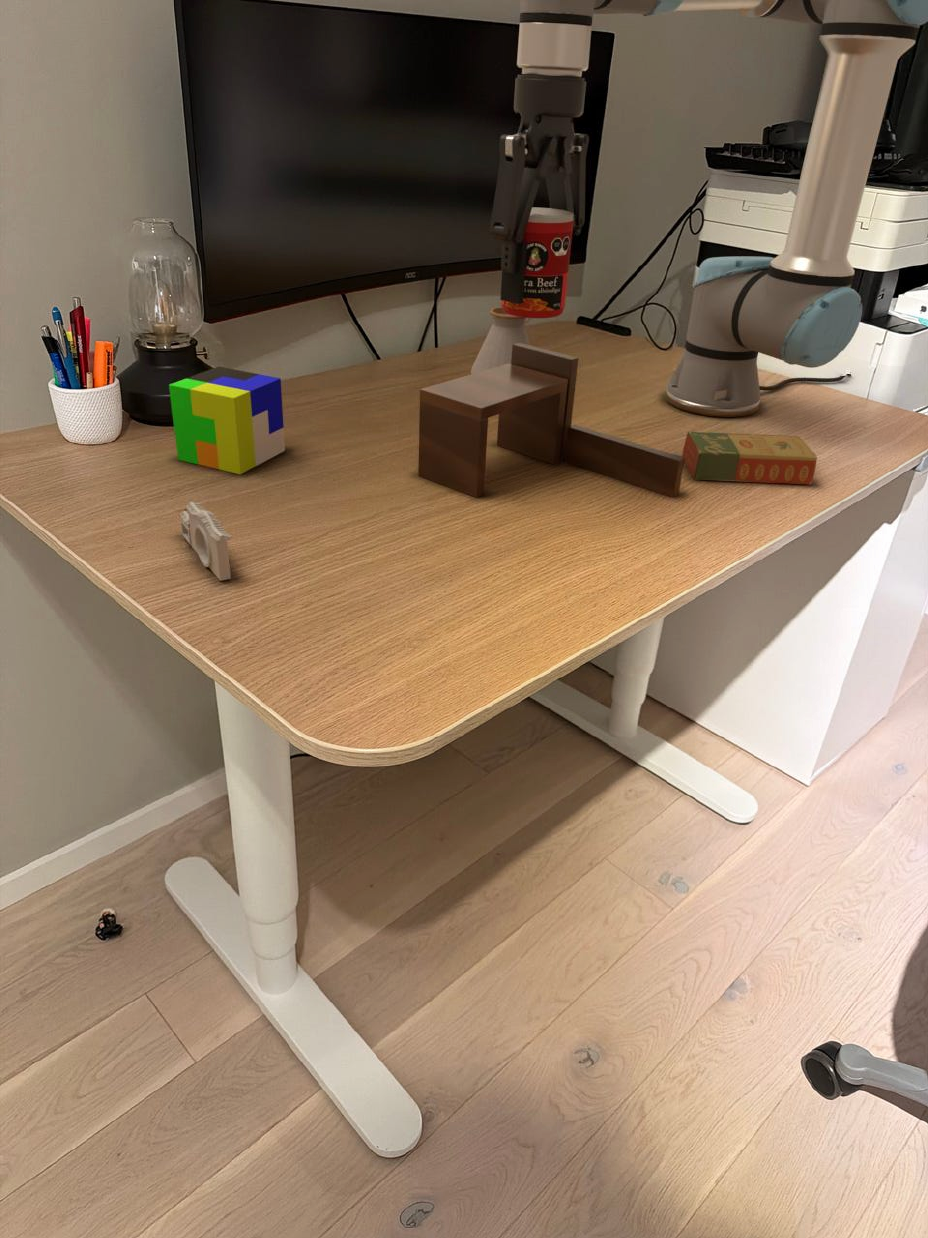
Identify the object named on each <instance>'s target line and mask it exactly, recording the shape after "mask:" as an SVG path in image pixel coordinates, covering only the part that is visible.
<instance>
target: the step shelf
mask: <svg viewBox="0 0 928 1238" xmlns="http://www.w3.org/2000/svg"><path fill="white" fill-rule="evenodd" d="M578 366H579V357H576V356H573V355H570V354H565V353H562V352H557V351H553V350H549V349H546V348H541V347H538V346H534V345H531V344H530V345H526V344H522V343H516V344H513V345H512V358H511V364H509V363H508V364H505V365H502V366H498V367H495V368H491V369H488V370H484V371H481V372H478V373H474V374H471V373H470V374H468V375H464V376H461V377H457V378H453V379H451V380H447V381H444V382H440V383H437V384H433V385H430V386H426V387H422V388H420V389H419V416H418V417H419V418H418V419H419V420H418V421H419V422H418V423H419V425H418V467H417V469H418V470H417V476H419V477H422V478H424V479H427V480H429V481H432V482H435V483H437V484H439V485H443V486H445V487H448V488H450V489H453V490H456V491H458V492H461V493H464V494H466V495H469V496H472V497H474V498H478V497H479V498H480V497H481V496H483V495H484V494H485V482H486V481H485V480H486V479H485V478H486V463H487V449H488V448H487V447H488V432H489V418H491V417H494V416H498V419H497V421H498V422H497V433H496V434H497V435H496V436H497V437H496V446H498V447H501V448H503V449H506V450H510V451H513V452H516V453H518V454H522V455H524V456H526V457H527V456H528V457H530V458H534V459H537V460H539V461H543V462H545V463H548V464H552V465H555V464H557V463H559V462H560V461H564V462H565V463H567V464H570V465H574V466H577V467H579V468H583V469H586V470H588V471H591V472H595V473H598V474H600V475H604V476H607V477H610V478H613V479H616V480H619V481H622V482H625V483H628V484H630V485H633V486H637V487H640V488H643V489H645V490H649V491H652V492H655V493H658V494H661V495H663V496H667V497H670V498H674V497H677V496H678V495H679V493H680V489H681V483H682V477H683V473H684V466H685V458H683V457H682V456H680V455H677V454H673V453H669V452H666V451H663V450H660V449H656V448H653V447H651V446H646V445H643V444H640V443H637V442H634V441H630V440H627V439H624V438H621V437H618V436H614V435H610V434H608V433H603V432H601V431H598V430H594V429H590V428H587V427H584V426H580V425H577V424H572V421H573V413H574V412H573V411H574V403H575V395H576V386H577V385H576V384H577V376H578Z"/></svg>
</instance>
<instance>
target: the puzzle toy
mask: <svg viewBox="0 0 928 1238" xmlns="http://www.w3.org/2000/svg"><path fill="white" fill-rule="evenodd" d="M168 388H169V389H168V391H169V398H170V407H171V414H172V421H173V430H174V437H175V438H174V439H175V445H176V453H177V460H179V461H182V462H186V463H191V464H195V465H199V466H203V467H207V468H210V469H211V468H212V469H216V470H218V471H219V470H220V471H224V472H228V473H233V474H236V475H242V474H244V473H246V472H248V471H250V470H252V469H254V468H256V467H258V466H259V465H261V464H263V463H265V462H267V461H268V460H270V459H272V458H274V457H276V456H278V455H279V454H282V453H284V452H285V451H286V444H285V443H286V442H285V427H284V426H285V425H284V411H283V410H284V409H283V395H282V394H283V393H282V391H283V390H282V378H280V377H275V376H270V375H266V374H265V375H264V374H260V373H255V372H249V371H244V370H240V369H239V370H238V369H234V368H230V367H223V366H216V367H213V368H211V369H208V370H205V371H202V372H199V373H197V374H194V375H191V376H189V377H186V378H184V379H181V380H178V381H176V382H173V383H170V384H168Z"/></svg>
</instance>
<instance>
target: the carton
mask: <svg viewBox="0 0 928 1238" xmlns="http://www.w3.org/2000/svg"><path fill="white" fill-rule="evenodd" d="M681 457H683V458H685V461H684V464H686V466H687V468H688V470H689V472H690V474H691V476H692V477H693V479H694V480H696V481H723V482H745V483H746V482H747V483H769V484H771V483H772V484H791V485H792V484H793V485H794V484H795V485H811V484H812V483H813V479H814V475H815V472H816V466H817V461H818V457H817V455H816V454H815V452H814V451H813V450H812V449H811V447H810V446H809V445H808V444H807V443H806V442H805V441H804V439H802V438H801V436H797V435H780V434H779V435H777V434H751V433H727V432H704V431H691V430H690V431H687V434H686V437H685V440H684V445H683V449H682V453H681Z"/></svg>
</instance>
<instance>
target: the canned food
mask: <svg viewBox="0 0 928 1238" xmlns="http://www.w3.org/2000/svg"><path fill="white" fill-rule="evenodd" d="M514 229H516V227H515V228H514ZM572 231H573V213H571V212H569V211H565V210H560V209H552V208H550V207H538V206H537V207H536V206H535V207H534V206H532V210H531V213H530V216H529V220H528V223H527V226H526V229H525V233H524V236H523V239H522V241H521V242H526V243H527V254H526V268H525V281H524V294H523V303H521V304H517V303H512V302H508V301H503V300H500V303H501V307H502V309H503V311H504V312H506V313H507V314H510V315H513V316H518V317H524V318H531V319H551V318H556V317H560V316H561V315H562V314H563V312H564V309H565V307H566V299H567V290H568V279H569V270H570V262H571V261H570V260H571V259H570V258H571V250H572V239H573V234H572Z"/></svg>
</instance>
